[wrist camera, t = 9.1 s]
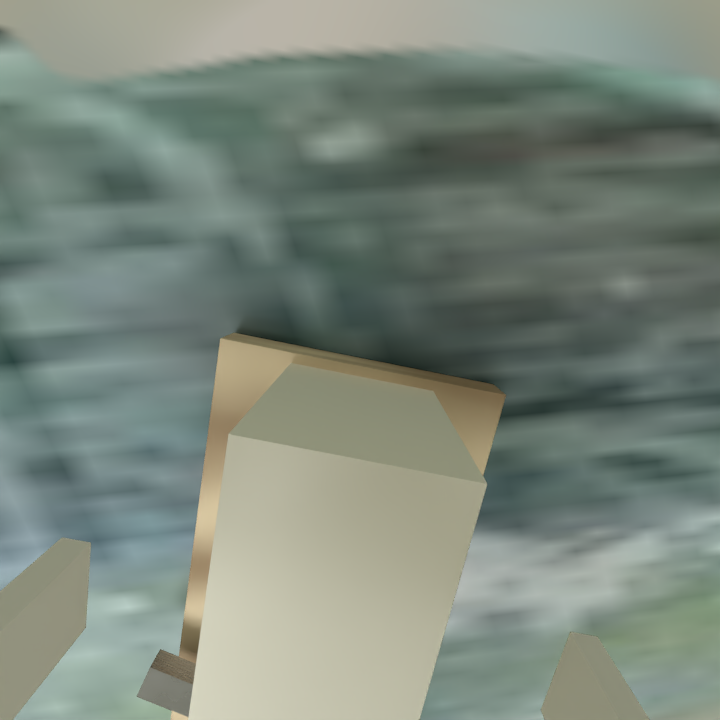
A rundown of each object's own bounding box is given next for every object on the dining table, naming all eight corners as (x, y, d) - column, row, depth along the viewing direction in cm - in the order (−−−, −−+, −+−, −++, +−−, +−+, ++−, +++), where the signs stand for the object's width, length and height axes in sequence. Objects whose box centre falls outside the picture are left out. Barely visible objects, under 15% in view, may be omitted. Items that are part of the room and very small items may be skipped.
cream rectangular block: (378, 614, 22) (385, 835, 13) (252, 591, 22) (176, 799, 13) (433, 390, 20) (487, 483, 11) (291, 362, 19) (228, 434, 11)
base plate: (390, 756, 27) (392, 794, 25) (180, 719, 26) (166, 755, 24) (493, 384, 22) (506, 395, 20) (233, 332, 21) (220, 338, 19)
